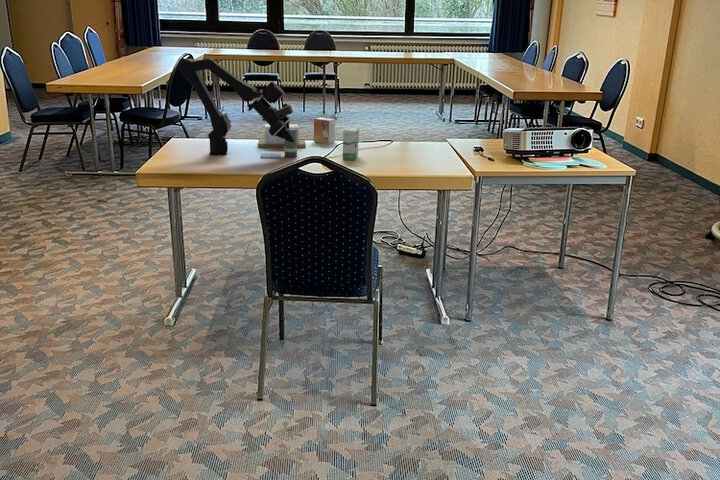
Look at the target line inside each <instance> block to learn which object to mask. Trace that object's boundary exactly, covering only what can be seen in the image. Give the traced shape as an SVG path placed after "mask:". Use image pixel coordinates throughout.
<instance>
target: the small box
mask: <svg viewBox="0 0 720 480" xmlns="http://www.w3.org/2000/svg"><path fill="white" fill-rule="evenodd" d="M335 138H336V118H327V117H322V116H320V117H316V118H313V142H315V143H321V144H325V145H330V144H333V143H335V141H336V139H335Z"/></svg>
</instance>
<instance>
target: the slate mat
mask: <svg viewBox="0 0 720 480" xmlns="http://www.w3.org/2000/svg"><path fill="white" fill-rule="evenodd" d="M281 154H282V153H281V152H260V159H281V158H282V155H281Z"/></svg>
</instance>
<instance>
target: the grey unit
mask: <svg viewBox="0 0 720 480" xmlns="http://www.w3.org/2000/svg"><path fill="white" fill-rule="evenodd" d="M289 127H290V128H294V129H297V149H306V148H307V144H306V140H305V139H299V137H300V136H299V133H300V132H299V130H300V129H299V125H298V123H297V124H295V123H294V124H293V123H289ZM269 129H270V125H269V124H268V123H265V128H264V139H258V145H257V147H258V148H259V149H261V148H264V149H266V148H270V149H274V148H275V149H281V148H282V149H284V147H285V144H284V139H283V138H280V137H278V136H275V134H276V133H277V132H276V133H275V134H274V135H273V136H272V135H271V134H270V133H269Z"/></svg>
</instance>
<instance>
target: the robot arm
mask: <svg viewBox="0 0 720 480" xmlns="http://www.w3.org/2000/svg"><path fill="white" fill-rule="evenodd" d="M178 69H179V71H180V74H182V75H183V76H184V78H185V79H186V80H187V82H189V83H190V84H191V85H192V87H193V89H194V90H195V91H194V92H196V94H197V96H198V97H199V100H200V101H201V103H202V105H203V107H204V108H205V110H206V112H207V114H208V116H209V118H210V119H209V120H210V124H211V127H212V131H210V132H209V133H208V134H207V136H208V139H209V155H210V156H211V155H213V156H214V155H215V156H217V155H219V156H220V155H221V156H223V155H224V156H225V155H227V153H229V152H228V151H229V149H228V141H227V137H226V136H227V134H229V132H230V131H231V130H232V124H231V123H232V120H230V118H229V117H228V114H227V113H226V112H225V113H224V114H223V113H222V112H221V111H220V110H219V107H218V106H217V104H216V102H215V101H214V98H213V96H212V95H211V93H210V91H209V90H208V88H207V86H206V84H205V82H204V80H203V78H202V73H201V71H205V70H207V71H210V72H211V73H212V74H213V75H215V76H216V77H218V78H219V79H220V80H221V81H223V82H224V83H226V84H227V85H229V86H230V87H231V88H232V89H233V90H234V91H235V93H236V94H237V96H239V97H240V98H241V99H242V100H243V101H244V102H252V101H253V100H254V101H253V102H252V103H248V104H247V107H248V112H251V111H252V110H253V109H254V111H255V113H257V114H258V115H260V117H261V118H262V121H263V122H266V124H269V125H270V129H269V133H270V134H271V135H272V136H273V135H274V134H275V133H276V132H277V133H276V134H275V136H278V137H280V138H283V139H285V140H287V141H290V142H294V140H293V138H292V137H291V135H290V134H289V132H288V131H287V129H286V128H290V127H289V124H290V119H291V118H290V117H289V115H292V114H293V113H294V110H293V107H292V105H291V104H288V103H284V104H282V107H281V108H279V109H278V108H276V107H273V106H272V105H271V104H274V105H275V104H276V103H277V102H278V101H279V100H281V98H282V97H283V96H284V95H285V93H286V92H285V91H284V90H283V88H281V86H278V84H276V83H275V82H274V81H270V83H269V84H268V85H267V87H265V88H264V89H259V88H256V86H254V85H252V84H251V83H248V82H246V81H244V80H242V79H240V78H238V77H237V76H236V75H234V74H233V73H232V72H230V71H229V70H227V69H226V68H225V67H223V66H222V65H221V64H220V63H218V62H217V61H216V60H215V59H214V58H206V59H197V60H196V59H194V58H186V59H184V60H182V61H180V63H179V65H178ZM262 95H263V96H262ZM260 97H261V98H260ZM258 98H260V99H258Z"/></svg>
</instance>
